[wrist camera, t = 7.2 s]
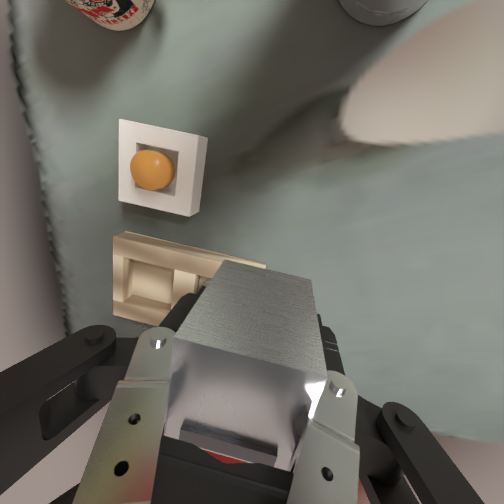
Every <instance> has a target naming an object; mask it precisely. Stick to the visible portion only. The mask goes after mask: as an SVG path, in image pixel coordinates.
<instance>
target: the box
mask: <svg viewBox="0 0 504 504" xmlns="http://www.w3.org/2000/svg"><path fill="white" fill-rule="evenodd" d="M207 143H208V138H207V137H203V136H200V135H195V134H190V133H185V132H181V131H176V130H171V129H166V128H161V127H157V126H152V125H147V124H142V123H137V122H132V121H128V120H123V119H119V201H123V202H127V203H131V204H136V205H140V206H145V207H149V208H153V209H158V210H162V211H166V212H171V213H175V214H180V215H184V216H188V217H190V216H192V215H194V214H196V213H197V212H199V208H200V200H201V192H202V184H203V176H204V167H205V159H206V151H207ZM143 150H150V151H160V152H162V153H164V154H166V155H167V156H168V157H169V158H170V159H171V161H172V163H173V165H174V169H175V175H174V179H173V181H172V182H171V183H170V184H169V185H168V186H166V187H164V188H159V189H154V190H147V189H144V188H142V187H140V186H139V185H138V184H137V183H136V182H135V181H134V179H133V177H132V175H131V172H130V163H131V159H132V158H133V156H134V155H135V154H136V153H137V152H139V151H143Z"/></svg>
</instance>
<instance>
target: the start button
mask: <svg viewBox="0 0 504 504" xmlns="http://www.w3.org/2000/svg"><path fill="white" fill-rule="evenodd" d="M130 172H131V175H132V177H133V179H134V181H135V182H136V183H137V184H138V185H139V186H140V187H142V188H144V189H147V190H154V189H159V188H164V187H166V186H168V185H169V184H170V183H171V182H172V181H173V179H174V175H175V169H174V165H173V163H172V161H171V159H170V158H169V157H168V156H167V155H166V154H164V153H162V152H160V151H150V150H143V151H139V152H137V153H136V154H135V155H134V156H133V158H132V159H131V163H130Z"/></svg>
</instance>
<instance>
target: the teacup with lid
mask: <svg viewBox="0 0 504 504" xmlns="http://www.w3.org/2000/svg"><path fill="white" fill-rule="evenodd" d="M65 1H67V2H68V3H69V4H71V5H72V6H73V7H75V8H76V9H78V10H79V11H80V12H82V13H83V14H85V15H86V16H87V17H89V18H90V19H92V20H93V21H94V22H96V23H97V24H99V25H101V26H103V27H105V28H107V29H110V30H116V31H122V30H128V29H131V28H133V27H135V26H136V25H138V24H139V23H140V22H142V21H143V20H144V18H145V17H146V16H147V15H148V13H149V11H150V10H151V8H152V5H153V3H154V0H65Z"/></svg>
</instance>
